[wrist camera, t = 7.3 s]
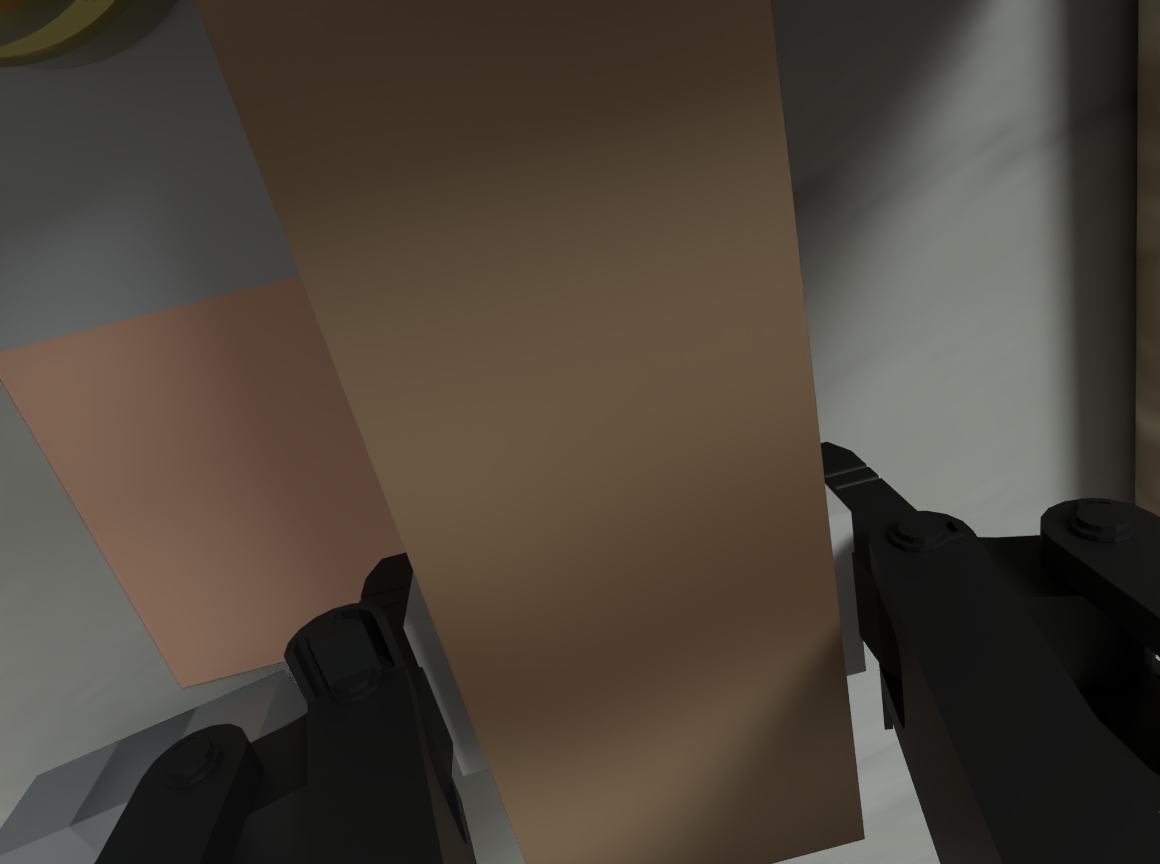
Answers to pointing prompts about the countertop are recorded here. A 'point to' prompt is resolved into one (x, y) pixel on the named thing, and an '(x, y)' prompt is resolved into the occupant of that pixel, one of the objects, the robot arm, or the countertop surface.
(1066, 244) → the countertop surface
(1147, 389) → the dowel
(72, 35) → the yellow-green lumpy upright piece
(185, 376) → the runner
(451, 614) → the natural wood brick
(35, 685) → the countertop surface
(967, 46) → the countertop surface
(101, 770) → the tee stick
